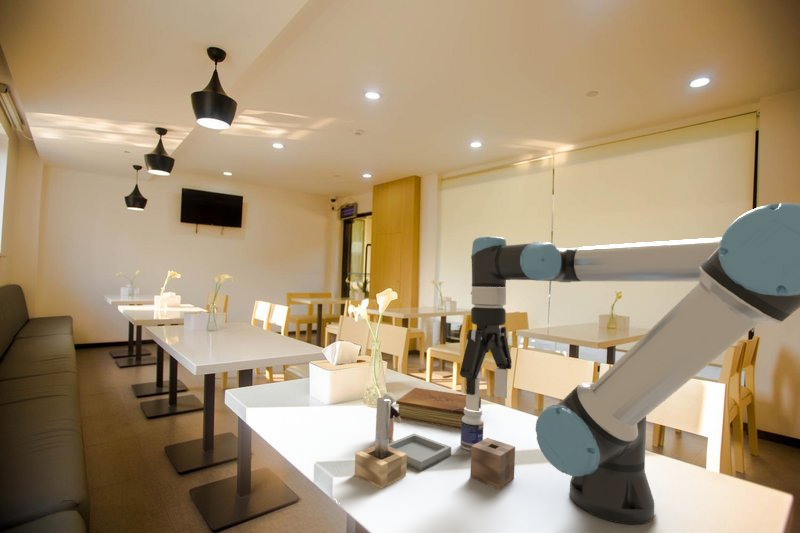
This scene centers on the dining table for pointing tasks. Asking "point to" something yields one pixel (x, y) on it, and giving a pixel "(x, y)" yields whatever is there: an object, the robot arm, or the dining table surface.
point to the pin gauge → (382, 428)
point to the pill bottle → (471, 428)
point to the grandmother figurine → (392, 413)
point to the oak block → (380, 466)
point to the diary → (433, 407)
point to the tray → (421, 451)
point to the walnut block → (492, 462)
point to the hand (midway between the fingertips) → (487, 403)
